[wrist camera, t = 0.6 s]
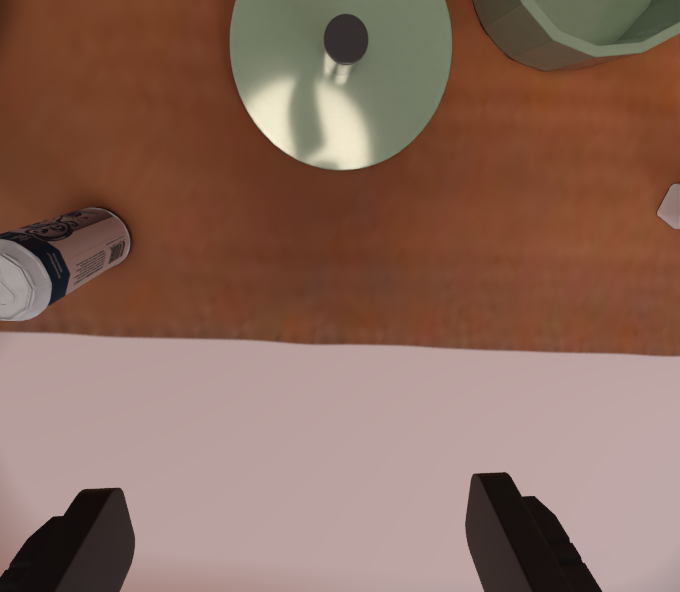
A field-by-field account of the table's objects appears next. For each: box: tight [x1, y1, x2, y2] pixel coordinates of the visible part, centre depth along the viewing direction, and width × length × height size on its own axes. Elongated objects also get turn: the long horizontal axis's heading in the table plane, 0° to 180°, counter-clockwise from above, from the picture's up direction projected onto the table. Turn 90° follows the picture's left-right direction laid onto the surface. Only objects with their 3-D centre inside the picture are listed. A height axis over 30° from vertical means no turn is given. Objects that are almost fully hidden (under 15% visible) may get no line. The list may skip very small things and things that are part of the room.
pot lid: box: [229, 0, 452, 170], centre depth 27 cm, size 15×15×6 cm
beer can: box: [0, 208, 130, 321], centre depth 28 cm, size 5×5×12 cm
